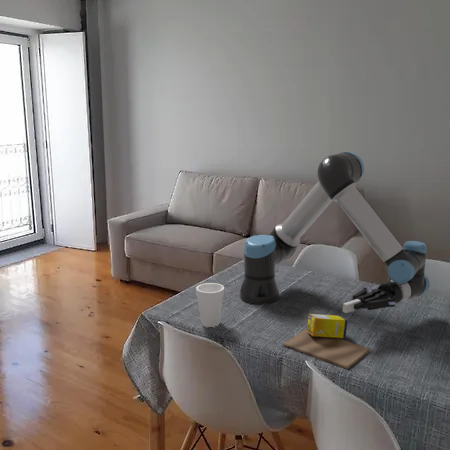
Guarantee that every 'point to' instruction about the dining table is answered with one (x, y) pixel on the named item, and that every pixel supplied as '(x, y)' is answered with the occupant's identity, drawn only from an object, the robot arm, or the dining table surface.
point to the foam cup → (210, 303)
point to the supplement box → (327, 326)
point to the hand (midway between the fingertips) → (344, 308)
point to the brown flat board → (327, 349)
